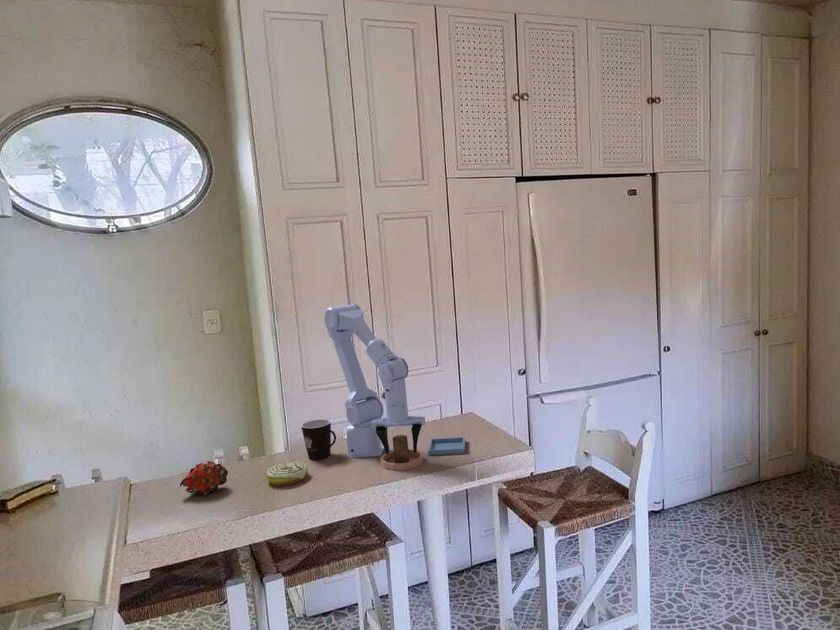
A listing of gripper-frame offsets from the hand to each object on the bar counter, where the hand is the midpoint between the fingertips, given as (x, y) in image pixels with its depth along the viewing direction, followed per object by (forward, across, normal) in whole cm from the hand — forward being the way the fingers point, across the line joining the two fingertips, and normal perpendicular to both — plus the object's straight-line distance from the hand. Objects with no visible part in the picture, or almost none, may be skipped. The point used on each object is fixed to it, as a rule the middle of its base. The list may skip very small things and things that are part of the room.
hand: (401, 451), depth 157 cm
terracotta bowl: (+3, 0, 0) cm, 3 cm away
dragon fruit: (+3, -50, -13) cm, 52 cm away
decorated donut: (+4, -30, -7) cm, 31 cm away
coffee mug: (+3, -25, +8) cm, 27 cm away
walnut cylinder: (+3, 0, 0) cm, 3 cm away
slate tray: (+3, +12, +9) cm, 15 cm away
